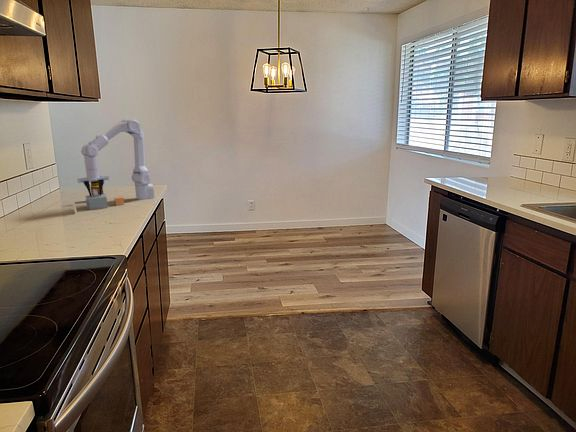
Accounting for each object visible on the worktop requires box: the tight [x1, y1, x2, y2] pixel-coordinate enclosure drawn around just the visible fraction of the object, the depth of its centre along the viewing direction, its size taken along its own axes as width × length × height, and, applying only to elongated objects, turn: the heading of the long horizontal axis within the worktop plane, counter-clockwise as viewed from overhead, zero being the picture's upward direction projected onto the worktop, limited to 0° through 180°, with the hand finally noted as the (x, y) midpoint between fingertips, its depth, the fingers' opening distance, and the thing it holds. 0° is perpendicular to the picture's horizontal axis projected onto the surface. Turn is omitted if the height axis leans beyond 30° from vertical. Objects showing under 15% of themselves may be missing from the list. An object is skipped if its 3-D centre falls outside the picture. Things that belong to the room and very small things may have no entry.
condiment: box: [90, 181, 105, 194], centre depth 239 cm, size 7×8×12 cm
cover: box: [85, 189, 109, 211], centre depth 222 cm, size 9×10×9 cm
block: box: [114, 195, 125, 206], centre depth 228 cm, size 4×4×4 cm
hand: (95, 195), depth 222 cm, fingers open, 4 cm apart
